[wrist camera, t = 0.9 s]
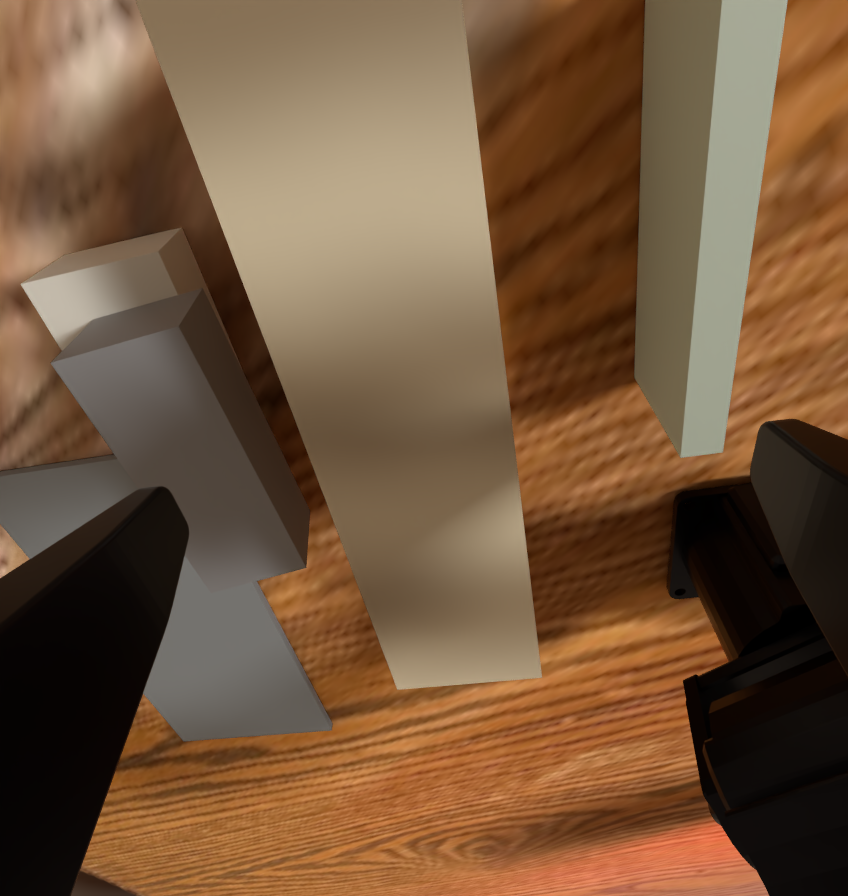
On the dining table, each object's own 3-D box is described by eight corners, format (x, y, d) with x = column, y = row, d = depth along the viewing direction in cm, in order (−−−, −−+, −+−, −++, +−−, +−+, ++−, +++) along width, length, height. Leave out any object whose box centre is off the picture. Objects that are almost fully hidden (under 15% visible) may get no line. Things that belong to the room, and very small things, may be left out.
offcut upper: (310, 510, 22) (306, 567, 19) (225, 533, 22) (211, 593, 19) (202, 287, 17) (178, 326, 14) (93, 319, 17) (50, 362, 14)
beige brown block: (507, 457, 23) (542, 677, 15) (412, 470, 24) (397, 689, 16) (442, -43, 14) (443, -157, 6) (292, -5, 15) (110, -66, 7)
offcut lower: (299, 502, 25) (295, 549, 23) (212, 522, 25) (198, 572, 23) (182, 226, 18) (158, 251, 16) (63, 255, 18) (20, 284, 16)
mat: (332, 724, 36) (331, 730, 35) (186, 735, 37) (183, 741, 37) (184, 444, 23) (180, 449, 23) (-30, 475, 25) (-36, 481, 24)
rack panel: (667, 372, 21) (722, 452, 17) (634, 377, 21) (680, 457, 17) (696, -54, 14) (800, -94, 10) (646, -41, 14) (728, -76, 10)
